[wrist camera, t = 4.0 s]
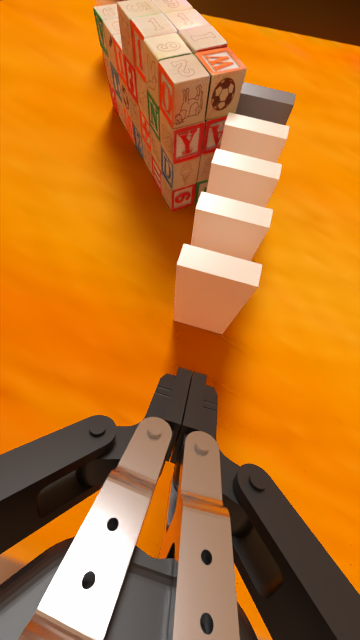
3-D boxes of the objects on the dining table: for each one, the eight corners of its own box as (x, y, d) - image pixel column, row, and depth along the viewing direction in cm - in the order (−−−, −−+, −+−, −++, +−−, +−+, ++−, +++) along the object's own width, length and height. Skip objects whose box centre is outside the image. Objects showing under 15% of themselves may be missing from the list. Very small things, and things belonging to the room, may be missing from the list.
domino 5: (173, 320, 24) (176, 264, 14) (177, 306, 24) (183, 243, 15) (222, 334, 23) (258, 286, 14) (225, 319, 24) (262, 264, 14)
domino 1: (214, 191, 30) (236, 91, 20) (217, 182, 30) (239, 81, 21) (253, 201, 29) (293, 105, 20) (255, 191, 30) (295, 94, 20)
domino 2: (206, 218, 28) (224, 124, 19) (209, 208, 29) (228, 112, 19) (247, 228, 28) (286, 139, 18) (249, 218, 28) (289, 126, 19)
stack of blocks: (111, 106, 35) (82, -45, 23) (151, 97, 36) (143, -51, 24) (171, 213, 28) (173, 80, 17) (217, 198, 29) (249, 64, 18)
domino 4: (185, 282, 25) (195, 208, 16) (189, 269, 26) (201, 191, 16) (231, 294, 25) (269, 227, 15) (234, 282, 25) (273, 209, 16)
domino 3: (196, 248, 27) (211, 162, 17) (199, 237, 27) (216, 148, 18) (239, 260, 26) (278, 179, 17) (242, 248, 27) (281, 164, 17)
